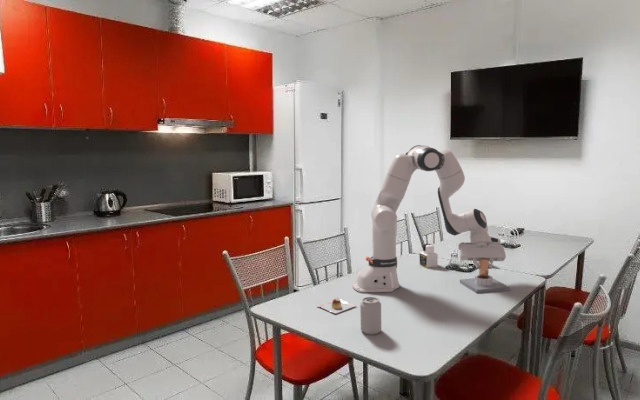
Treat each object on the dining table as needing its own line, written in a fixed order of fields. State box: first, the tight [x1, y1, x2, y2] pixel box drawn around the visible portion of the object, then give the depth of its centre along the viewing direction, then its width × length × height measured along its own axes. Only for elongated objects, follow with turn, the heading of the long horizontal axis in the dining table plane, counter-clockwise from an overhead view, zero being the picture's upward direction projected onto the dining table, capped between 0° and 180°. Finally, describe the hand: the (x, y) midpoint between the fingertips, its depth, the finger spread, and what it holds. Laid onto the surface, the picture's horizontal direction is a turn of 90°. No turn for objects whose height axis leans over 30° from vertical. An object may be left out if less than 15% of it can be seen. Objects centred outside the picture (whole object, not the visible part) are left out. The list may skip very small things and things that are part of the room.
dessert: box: [316, 297, 357, 315], centre depth 177 cm, size 12×12×5 cm
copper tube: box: [478, 258, 490, 279], centre depth 195 cm, size 4×4×10 cm
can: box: [359, 296, 382, 336], centre depth 152 cm, size 8×8×12 cm
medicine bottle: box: [419, 243, 439, 269], centre depth 231 cm, size 7×7×12 cm
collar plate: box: [459, 274, 510, 294], centre depth 196 cm, size 16×15×4 cm
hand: (484, 268), depth 195 cm, fingers closed on copper tube, 4 cm apart
